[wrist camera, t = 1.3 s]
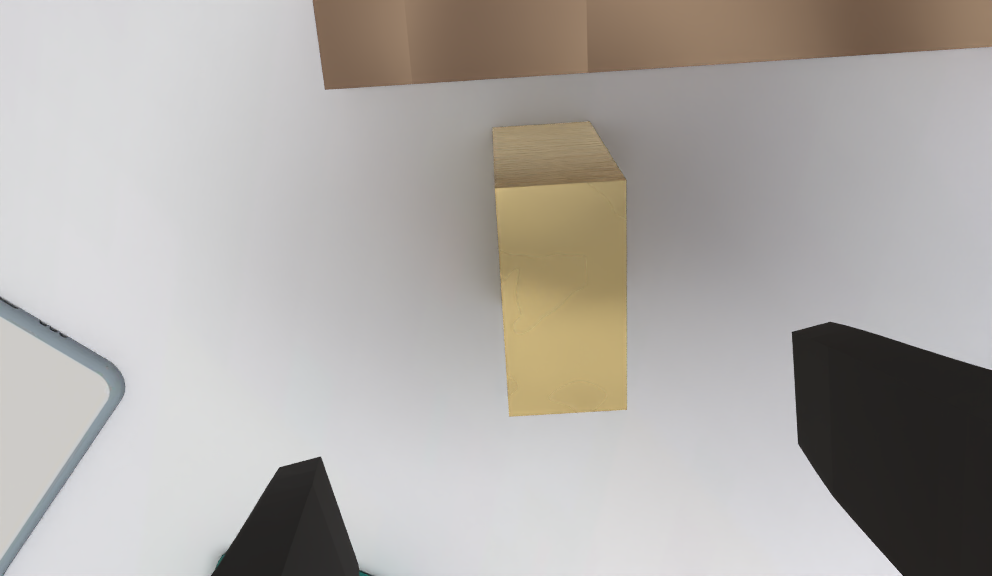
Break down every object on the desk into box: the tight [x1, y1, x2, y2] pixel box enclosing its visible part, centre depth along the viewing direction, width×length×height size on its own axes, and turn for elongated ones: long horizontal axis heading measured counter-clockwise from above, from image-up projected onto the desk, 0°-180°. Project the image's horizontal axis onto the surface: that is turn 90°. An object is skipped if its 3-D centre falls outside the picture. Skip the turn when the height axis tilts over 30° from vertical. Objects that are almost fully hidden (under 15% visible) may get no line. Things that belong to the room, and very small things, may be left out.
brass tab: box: [493, 121, 627, 417], centre depth 19 cm, size 2×5×6 cm, turn 4°
